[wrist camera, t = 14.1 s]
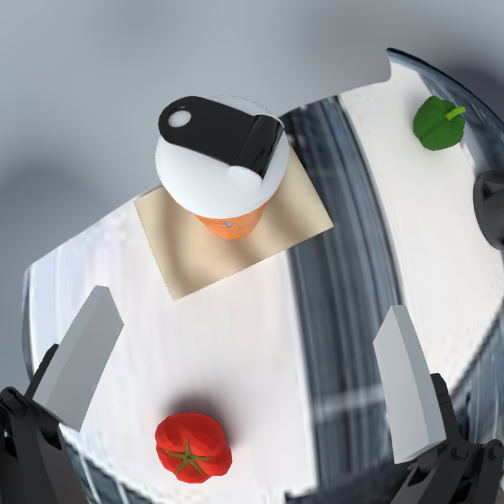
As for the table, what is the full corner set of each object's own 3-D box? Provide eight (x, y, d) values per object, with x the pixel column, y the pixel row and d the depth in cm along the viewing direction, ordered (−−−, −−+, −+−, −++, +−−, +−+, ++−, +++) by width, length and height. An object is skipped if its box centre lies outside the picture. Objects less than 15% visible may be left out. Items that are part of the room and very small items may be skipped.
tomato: (217, 400, 34) (212, 422, 27) (239, 460, 33) (239, 486, 26) (151, 410, 33) (136, 430, 27) (177, 467, 32) (169, 492, 26)
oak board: (283, 139, 37) (284, 134, 36) (330, 228, 36) (333, 226, 35) (137, 204, 36) (133, 201, 34) (176, 300, 35) (173, 301, 33)
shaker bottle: (206, 171, 35) (171, 66, 15) (274, 185, 35) (306, 86, 15) (187, 238, 34) (121, 186, 14) (259, 254, 34) (280, 218, 14)
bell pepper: (412, 154, 38) (446, 127, 28) (401, 112, 39) (429, 81, 29) (448, 160, 38) (482, 138, 28) (437, 121, 39) (466, 95, 29)
